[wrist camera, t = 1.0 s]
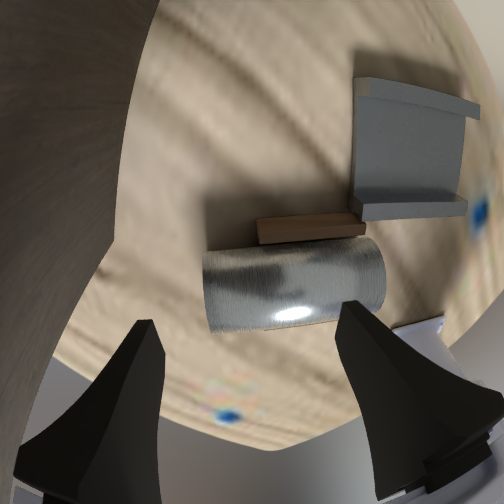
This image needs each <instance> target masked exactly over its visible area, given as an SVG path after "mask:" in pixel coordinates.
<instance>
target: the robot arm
mask: <svg viewBox="0 0 504 504" xmlns="http://www.w3.org/2000/svg"><path fill="white" fill-rule="evenodd" d="M445 320H446V317H445V316H440V317H436V318H433V319H429V320H426V321H422V322H419V323H415V324H411V325H407V326H403V327H399V328H395V329H393V330H392V331H391V330H390V329H389V328H388V327H387V326H386V325H384V324H383V323H382V322H381V321H380V320H379V319H378V318H377V317H376V316H374V315H373V314H372V313H371V312H370V311H369V310H368V309H367V308H366V307H364V306H363V305H362V304H361V303H360V302H359V301H358V300H352V301H345V302H342V306H341V311H340V316H339V320H338V325H337V329H336V333H335V341H336V345H337V349H338V352H339V356H340V360H341V362H342V365H343V367H344V369H345V372H346V374H347V377H348V379H349V382H350V384H351V386H352V389H353V391H354V394H355V396H356V399H357V401H358V404H359V407H360V410H361V413H362V416H363V420H364V424H365V428H366V432H367V437H368V441H369V446H370V452H371V458H372V464H373V471H374V480H375V492H376V497H377V500H378V501H380V500H383V499H385V498H388V497H390V496H393V495H395V494H398V493H400V492H403V491H405V492H406V494H405V495H402V496H400V497H398V498H395V499H393V500H390V501H388V502H385V503H383V504H504V420H503V418H504V398H503V396H502V394H501V393H500V392H497V391H495V390H491V389H488V388H487V387H486V386H485V384H484V382H483V381H482V380H476V379H475V380H473V381H472V382H470V381H468V380H467V378H466V376H465V375H464V373H463V372H462V370H461V368H460V366H459V365H458V363H457V362H456V360H455V358H454V357H453V355H452V354H451V352H450V351H449V349H448V348H447V346H446V345H445V343H444V342H443V340H442V339H441V337H440V336H439V332H440V330H441V328H442V326H443V324H444V322H445ZM164 378H165V351H164V349H163V346H162V344H161V341H160V339H159V336H158V333H157V331H156V328H155V325H154V322H153V320H152V319H148V320H137V321H136V323H135V324H134V325H133V327H132V328H131V330H130V331H129V333H128V334H127V336H126V337H125V339H124V340H123V342H122V343H121V345H120V346H119V347H118V349H117V350H116V352H115V353H114V355H113V356H112V357H111V359H110V360H109V362H108V363H107V364H106V366H105V367H104V368H103V370H102V371H101V372H100V374H99V375H98V376H97V378H96V379H95V380H94V381H93V383H92V384H91V385H90V386H89V388H88V389H87V390H86V391H85V392H84V393H83V394H82V396H81V397H80V398H79V399H78V400H77V401H76V402H75V403H74V404H73V405H72V406H71V407H70V408H69V409H68V410H67V411H66V412H65V413H64V414H63V415H62V416H61V417H59V418H58V419H57V420H56V421H55V422H53V423H52V424H51V425H50V426H49V427H47V428H46V429H45V430H43V431H42V432H41V433H39V434H38V435H37V436H35V437H34V438H32V439H31V440H29V441H27V442H26V443H25V444H23V445H21V446H19V449H18V453H17V457H16V461H15V466H14V471H13V476H14V477H15V478H16V479H18V480H20V481H22V482H23V483H25V484H27V485H29V486H31V487H33V488H35V489H37V490H39V491H41V492H43V493H44V496H43V498H42V497H40V496H38V495H35V494H33V493H31V492H29V491H27V490H25V489H23V488H21V487H19V486H15V491H14V499H13V504H162V502H161V495H160V486H159V477H158V461H157V460H158V459H157V430H158V420H159V413H160V405H161V399H162V392H163V385H164ZM491 431H492V433H491V434H490V435H489V433H490V432H491Z"/></svg>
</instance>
